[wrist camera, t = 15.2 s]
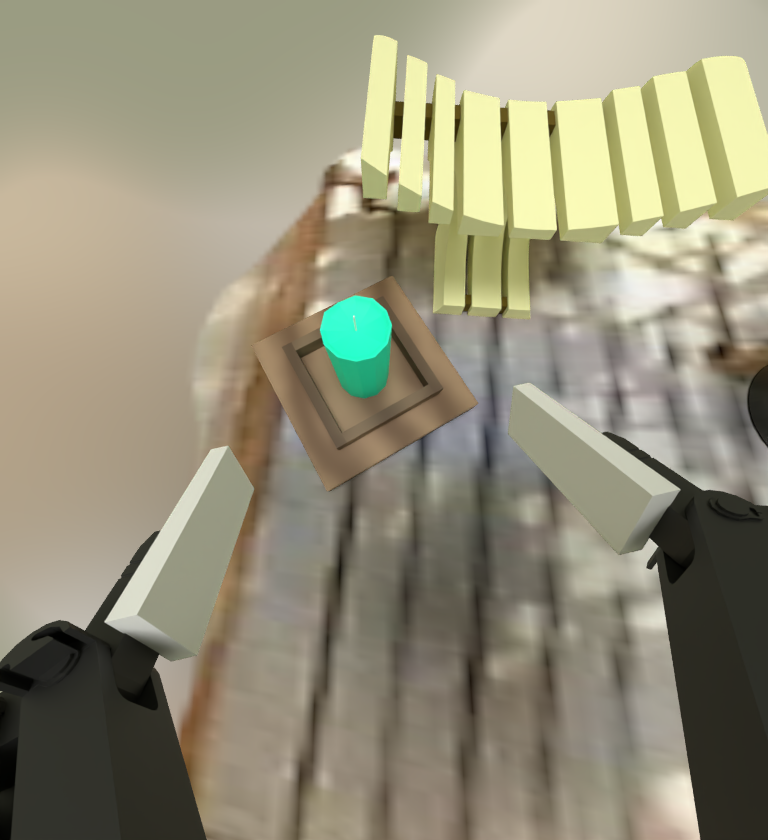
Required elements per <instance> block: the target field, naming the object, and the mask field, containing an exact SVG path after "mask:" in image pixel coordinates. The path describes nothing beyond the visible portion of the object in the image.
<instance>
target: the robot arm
mask: <svg viewBox="0 0 768 840" xmlns="http://www.w3.org/2000/svg"><path fill="white" fill-rule="evenodd" d="M749 405H750V411H751V415H752V418H753V421H754V424H755V426H756V428H757V430H758V432H759V433H760V435H761V437H762V438H763V439H764V441H765V442H766V443H767V445H768V366H766V367H765V368H763V369H762V370H761V371H760V372H759V373H758V374H757V376H756V377H755V379H754V381H753V383H752V385H751V389H750V394H749ZM508 434H509V435H510V437H511V438H512V439H513V440H514V441H515V442H516V443H517V444H518V445H519V446H520V447H521V449H522V450H523V451H524V452H525V453H526V454H527V455H528V456H529V457H530V458H531V459H532V461H533V462H534V463H535V464H536V465H537V466H538V467H539V468H540V469H541V470H542V472H543V473H544V474H545V475H546V476H547V477H548V478H549V479H550V480H551V481H552V482H553V484H554V485H555V486H556V487H557V488H558V489H559V490H560V491H561V492H562V493H563V495H564V496H565V497H566V498H567V499H568V500H569V501H570V502H571V503H572V504H573V505H574V507H575V508H576V509H577V510H578V511H579V512H580V513H581V514H582V515H583V516H584V517H585V519H586V520H587V521H588V522H589V523H590V524H591V525H592V526H593V527H594V528H595V530H596V531H597V532H598V533H599V534H600V535H601V536H602V537H603V538H604V539H605V540H606V542H607V543H608V544H609V545H610V546H611V547H612V548H613V549H614V550H615V551H616V553H617V554H618V555H621V554H625V553H629V552H634V551H638V550H642V549H643V547H644V545H645V544H646V542H647V541H648V539H649V538H650V539H651V540H653V541H654V542H655V543H656V544H657V545H658V546H659V547H658V548H657V549H656V551H655V552H654V554H653V555H652V557H651V558H650V560H649V561H648V563H647V568H648V569H650V570H651V569H652V568H653V567H654V565H655V564H656V563H657V565H658V572H659V578H660V584H661V590H662V597H663V603H664V609H665V616H666V622H667V629H668V635H669V641H670V648H671V654H672V660H673V667H674V673H675V680H676V686H677V692H678V699H679V705H680V711H681V718H682V724H683V731H684V737H685V743H686V750H687V756H688V763H689V769H690V775H691V782H692V788H693V794H694V801H695V807H696V814H697V820H698V826H699V833H700V839H701V840H768V506H759V505H754V504H752V503H751V502H748V501H746V500H744V499H742V498H740V497H738V496H735V495H732V494H729V493H725V492H721V491H713V490H706V491H703V490H701V489H699V488H698V487H696V486H695V485H693V484H692V483H690V482H689V481H687V480H686V479H684V478H683V477H681V476H680V475H678V474H677V473H675V472H674V471H672V470H671V469H669V468H668V467H666V466H665V465H663V464H662V463H660V462H659V461H657V460H656V459H654V458H651V457H650V455H648V454H647V453H645V452H644V451H642V450H639V448H638V447H636V446H635V445H633V444H632V443H630V442H629V441H627V440H626V439H624V438H622V437H619V436H617V435H614V434H612V433H609V432H603V433H600V432H599V431H597V430H596V429H594V428H593V427H592V426H590V425H589V424H587V423H586V422H585V421H583V420H582V419H580V418H579V417H577V416H576V415H575V414H573V413H572V412H570V411H569V410H568V409H566V408H565V407H563V406H562V405H560V404H559V403H558V402H556V401H555V400H553V399H552V398H551V397H549V396H548V395H546V394H545V393H544V392H542V391H541V390H539V389H538V388H536V387H535V386H534V385H532V384H531V383H526V384H521V385H516V386H514V387H513V396H512V404H511V412H510V421H509V429H508ZM253 490H254V488H253V486H252V484H251V483H250V481H249V479H248V478H247V476H246V474H245V473H244V471H243V469H242V468H241V466H240V464H239V463H238V461H237V459H236V458H235V456H234V454H233V453H232V451H231V449H230V448H229V446H225V447H221V448H216V449H211V450H210V452H209V454H208V455H207V457H206V458H205V460H204V462H203V463H202V465H201V467H200V468H199V470H198V471H197V473H196V475H195V476H194V478H193V479H192V481H191V483H190V484H189V486H188V488H187V489H186V491H185V492H184V494H183V496H182V497H181V499H180V501H179V502H178V504H177V505H176V507H175V509H174V510H173V512H172V513H171V515H170V517H169V518H168V520H167V522H166V523H165V525H164V527H163V528H162V530H161V531H156V532H154V533H153V534H152V535H151V536H150V537H149V538H148V539H147V540H146V541H145V542H144V543H143V544H142V545H141V546H140V548H139V549H138V550H137V552H136V553H135V555H134V556H133V558H132V560H131V561H130V565H128V566H127V567H126V569H125V570H124V572H123V573H122V575H121V579H118V581H117V583H116V584H115V586H114V587H113V589H112V590H111V592H110V593H109V595H108V596H107V598H106V599H105V601H104V602H103V604H102V605H101V607H100V608H99V610H98V612H97V613H96V615H95V616H94V618H93V619H92V621H91V622H90V624H89V625H88V627H87V628H86V630H85V631H84V630H82V629H81V628H78V627H77V626H75V625H73V624H71V623H69V622H67V621H61V620H58V621H55V622H52V623H49V624H46V625H45V626H43V627H41V628H40V629H38V630H36V631H34V632H32V633H31V634H30V635H29V636H27V637H26V638H25V639H23V640H22V641H21V642H20V643H19V644H17V645H16V646H15V647H14V648H13V649H12V650H11V651H10V652H9V653H8V654H7V655H6V656H5V657H4V658H3V659H2V661H1V662H0V691H3V692H1V693H0V840H207V839H206V836H205V832H204V829H203V825H202V822H201V818H200V815H199V811H198V808H197V804H196V801H195V797H194V794H193V790H192V787H191V783H190V780H189V776H188V773H187V769H186V766H185V762H184V759H183V755H182V752H181V748H180V745H179V741H178V738H177V734H176V731H175V727H174V724H173V721H172V717H171V714H170V710H169V706H168V703H167V699H166V696H165V692H164V689H163V685H162V682H161V678H160V675H159V673H158V672H157V670H156V669H155V668H153V667H154V665H155V662H156V660H157V658H158V655H161V656H163V657H164V658H166V659H168V660H170V661H175V660H180V659H184V658H188V657H192V656H197V655H198V652H199V649H200V646H201V643H202V640H203V637H204V634H205V631H206V628H207V625H208V623H209V620H210V617H211V614H212V611H213V608H214V605H215V602H216V599H217V596H218V593H219V590H220V587H221V584H222V581H223V579H224V576H225V573H226V570H227V567H228V564H229V561H230V558H231V555H232V552H233V549H234V546H235V543H236V540H237V537H238V534H239V532H240V529H241V526H242V523H243V520H244V517H245V514H246V511H247V508H248V505H249V502H250V499H251V496H252V493H253Z"/></svg>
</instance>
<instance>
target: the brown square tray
mask: <svg viewBox="0 0 768 840" xmlns="http://www.w3.org/2000/svg"><path fill="white" fill-rule="evenodd" d="M355 295H356V296H362V297H367V298H373V299H374V300H375V301H376V302H378V303H379V304H380V305H381V306H382V307H383V308H384V309H386V310H387V313H388V316H389V318H390V321H391V324H392V332H391V347H390V361H389V374H388V379H387V383H386V386H385V387H384V388H383V389H382V390H381V391H380V392H379V393H378V394H377V395H375V396H371V397H368V398H359V397H355V396H351V395H350V394H349V393H348V392H347V391H346V390H345V389H343V388H342V386H341V384H340V381H339V379H338V377H337V374H336V372H335V370H334V367H333V365H332V363H331V360H330V358H329V356H328V353H327V351H326V349H325V346H324V344H323V340H322V336H321V332H320V328H321V324H322V320H323V315H324V312H325V311H327V310H328V309H329V308H331V307H332V306H334V305H335V304H334V305H332V306H330V307H328V308H326V309H324V310H322V311H320V312H317V313H315V314H313V315H311V316H309V317H307V318H305V319H303V320H301V321H299V322H297V323H295V324H293V325H291V326H289V327H287V328H285V329H283V330H281V331H279V332H277V333H275V334H273V335H271V336H269V337H267V338H265V339H263V340H261V341H259V342H257V343H255V344H253V345H251V346H252V348H253V350H254V352H255V354H256V356H257V358H258V359H259V361H260V363H261V365H262V367H263V369H264V371H265V373H266V375H267V377H268V379H269V381H270V383H271V384H272V386H273V388H274V390H275V392H276V394H277V396H278V398H279V400H280V402H281V404H282V406H283V408H284V409H285V411H286V413H287V415H288V417H289V419H290V421H291V423H292V425H293V427H294V429H295V431H296V433H297V434H298V436H299V438H300V440H301V442H302V444H303V446H304V448H305V450H306V452H307V454H308V456H309V458H310V459H311V461H312V463H313V465H314V467H315V469H316V471H317V473H318V475H319V477H320V479H321V481H322V483H323V484H324V486H325V488H326V490H327V491H331V490H333V489H334V488H336V487H338V486H340V485H341V484H343V483H345V482H346V481H348V480H350V479H352V478H353V477H355V476H357V475H358V474H360V473H362V472H364V471H365V470H367V469H369V468H370V467H372V466H374V465H376V464H377V463H379V462H381V461H382V460H384V459H386V458H388V457H389V456H391V455H393V454H394V453H396V452H398V451H400V450H401V449H403V448H405V447H406V446H408V445H410V444H412V443H413V442H415V441H417V440H418V439H420V438H422V437H424V436H425V435H427V434H429V433H430V432H432V431H434V430H436V429H437V428H439V427H441V426H442V425H444V424H446V423H448V422H449V421H451V420H453V419H454V418H456V417H458V416H460V415H461V414H463V413H465V412H466V411H468V410H470V409H472V408H473V407H474V406H476V405H477V404H478V402H477V401H476V399H475V398H474V396H473V395H472V393H471V392H470V390H469V389H468V387H467V386H466V384H465V383H464V381H463V380H462V378H461V377H460V375H459V374H458V372H457V371H456V369H455V368H454V366H453V365H452V363H451V362H450V361H449V359H448V358H447V356H446V355H445V353H444V352H443V350H442V349H441V347H440V346H439V344H438V343H437V341H436V340H435V338H434V337H433V335H432V334H431V332H430V331H429V329H428V328H427V326H426V325H425V323H424V322H423V320H422V319H421V317H420V316H419V314H418V313H417V312H416V310H415V309H414V307H413V306H412V304H411V303H410V301H409V300H408V298H407V297H406V295H405V294H404V292H403V291H402V289H401V288H400V286H399V285H398V283H397V282H396V280H395V279H394V277H393V276H390V277H388V278H386V279H384V280H382V281H380V282H378V283H376V284H374V285H372V286H370V287H368V288H366V289H364V290H362V291H360V292H358V293H356V294H354V295H352V296H355ZM352 296H350V297H352ZM350 297H348V298H350ZM348 298H346V299H348ZM344 300H345V299H344ZM342 301H343V300H342ZM340 302H341V301H340ZM336 304H337V303H336Z"/></svg>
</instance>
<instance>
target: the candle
mask: <svg viewBox="0 0 768 840" xmlns="http://www.w3.org/2000/svg"><path fill="white" fill-rule="evenodd" d="M320 332H321V336H322V340H323V344H324V346H325V349H326V351H327V353H328V356H329V358H330V360H331V363H332V365H333V367H334V370H335V372H336V374H337V377H338V379H339V381H340V384H341V386H342V388H343V389H345V390H346V391H347V392H348V393H349V394H350V395H351V396H355V397H359V398H368V397H371V396H375V395H377V394H378V393H379V392H380V391H381V390H382V389H383V388H384V387H385V386H386V383H387V379H388V374H389V361H390V347H391V332H392V324H391V321H390V318H389V316H388V313H387V310H386V309H384V308H383V307H382V306H381V305H380V304H379V303H378V302H376V301H375V300H374V299H373V298H367V297H362V296H356V295H355V296H352V297H350V298H348V299H345V300H343V301H341V302H338V303H337V304H335V305H334V306H332V307H331V308H329V309H328V310H327V311H325V312H324V315H323V320H322V324H321V328H320Z"/></svg>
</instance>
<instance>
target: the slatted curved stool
mask: <svg viewBox="0 0 768 840" xmlns="http://www.w3.org/2000/svg"><path fill="white" fill-rule="evenodd" d="M396 74H397V41H396V40H394V39H392V38H389V37H385V36H379V35H375V36H374V41H373V50H372V59H371V69H370V77H369V87H368V96H367V106H366V116H365V124H364V134H363V143H362V153H361V168H362V183H363V198H377V199H386V198H387V185H388V173H389V161H390V152H392V151H393V138H397V139H402V144H401V159H400V174H399V189H398V206H397V211H408V212H419V211H420V204H421V197H422V175H423V153H424V140H428V161H430V189H429V223H437V224H439V225H438V227H437V231H436V235H435V263H434V296H433V313H438V314H454V315H461V313H462V311H468V315H469V316H485V317H496V316H497V314H498V313H502V318H517V319H530V296H529V240H530V239H542V240H550V239H551V238H552V236H553V235H554V233H555V232H556V231H557V225H556V213H555V203H556V209H557V216H558V225H559V234H560V241H574V242H591V243H602V242H603V241H604V240H605V239H606V238H607V237H608V235H609V234H610V233H611V232H612V231H613V230H614V229H615V228H616V227H617V226H618V225H619V229H620V235H631V236H643V235H644V234H645V233H646V232H647V231H648V230H649V229H650V228H651V227H652V226H653V225H654V224H655V223H656V222H658V221H659V220H660V219H662V223H663V227H668V228H684V229H686V228H687V227H688V226H689V225H691V224H692V223H693V222H694V221H695V220H697V219H698V218H699V217H700V216H701V215H703V214H704V213H705V212H706V211H708V214H709V218H710V219H718V220H734V219H736V218H737V217H738V216H740V215H741V214H742V213H744V212H745V211H746V210H748V209H749V208H750V207H752V206H753V205H755V204H756V203H757V202H759V201H760V200H761V199H763V198H764V197H765V196H767V195H768V134H767V132H766V128H765V125H764V122H763V118H762V115H761V112H760V108H759V105H758V102H757V99H756V95H755V92H754V89H753V85H752V82H751V79H750V76H749V73H748V69H747V66H746V63H745V61H744V59H742V58H740V57H737V56H718V57H712V58H705V59H701V60H700V61H698V62H697V63H695V64H694V65H693V66H692V67H690V68H689V69H688V70H687V71H684V72H675V73H669V74H664V75H658V76H653V77H652V78H651V79H650V80H649V81H648V82H647V83H646V84H645V85H644V86H643V87H642V88H641V90H640V86H636V87H629V88H622V89H617V90H612V91H611V92H610V94H609V95H608V96H607V97H606V98H605V100H604V101H603V102H602V101H601V98H596V99H585V100H572V101H558V102H556V103H555V104H554V106H553V107H552V109H551V111H549V110H547V105H546V102H528V101H515V100H508V102H507V104H506V106H505V108H500V98H496V97H491V96H487V95H482V94H478V93H474V92H470V91H466V90H464V91H463V94H462V97H461V100H460V104H459V105H455V81H454V80H452V79H449V78H446V77H443V76H441V75H438V74H437V75H436V80H435V85H434V92H433V98H432V104H430V103H426V85H427V63H426V62H424V61H421V60H419V59H417V58H415V57H412V56H409V55H407V70H406V84H405V99H404V102H397V101H396V76H397V75H396ZM554 198H555V201H554ZM467 237H468V295H465V268H466V249H467ZM501 284H502V297H501Z"/></svg>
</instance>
